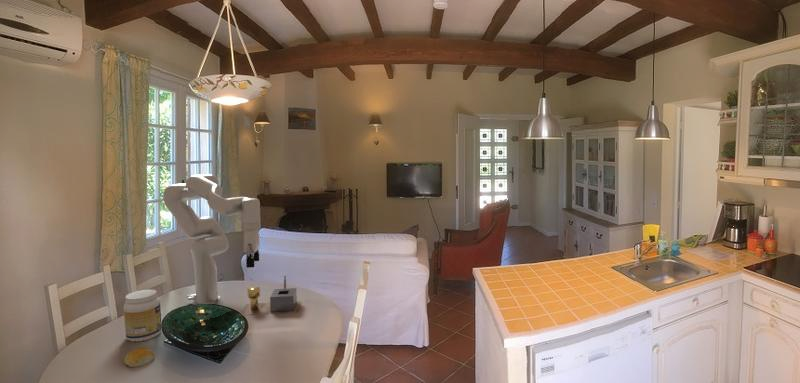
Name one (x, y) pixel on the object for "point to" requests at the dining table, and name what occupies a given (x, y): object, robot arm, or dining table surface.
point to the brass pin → (253, 297)
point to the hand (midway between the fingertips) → (253, 264)
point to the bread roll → (139, 357)
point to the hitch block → (283, 300)
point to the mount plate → (265, 309)
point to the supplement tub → (142, 315)
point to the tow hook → (284, 281)
